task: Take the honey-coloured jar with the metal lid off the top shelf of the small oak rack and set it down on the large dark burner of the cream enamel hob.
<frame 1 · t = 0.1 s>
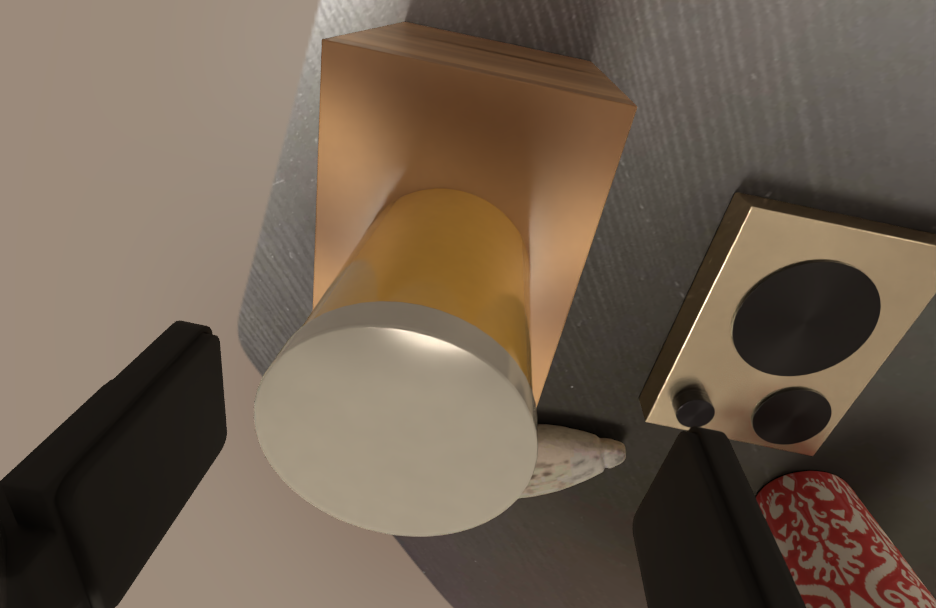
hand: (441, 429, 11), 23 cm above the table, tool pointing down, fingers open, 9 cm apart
hob: (770, 325, 34), on the table
shelf: (473, 171, 31), on the table
jar: (444, 270, 20), point 13 cm above the table, touching shelf
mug: (806, 511, 43), on the table
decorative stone: (522, 444, 42), on the table
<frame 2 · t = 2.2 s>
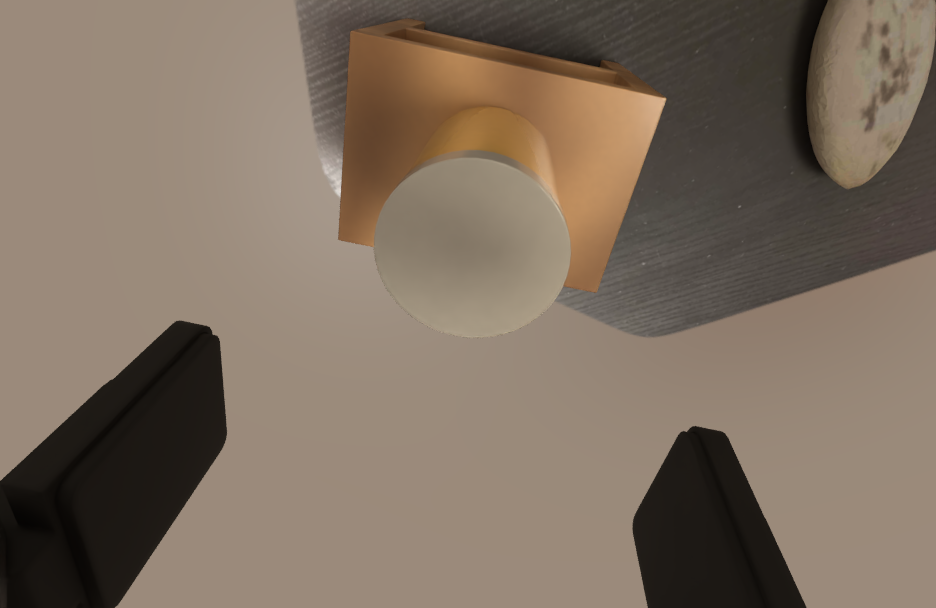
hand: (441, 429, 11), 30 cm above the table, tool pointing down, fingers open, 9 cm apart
shelf: (497, 119, 36), on the table
jar: (486, 176, 25), point 13 cm above the table, touching shelf
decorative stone: (853, 58, 33), on the table
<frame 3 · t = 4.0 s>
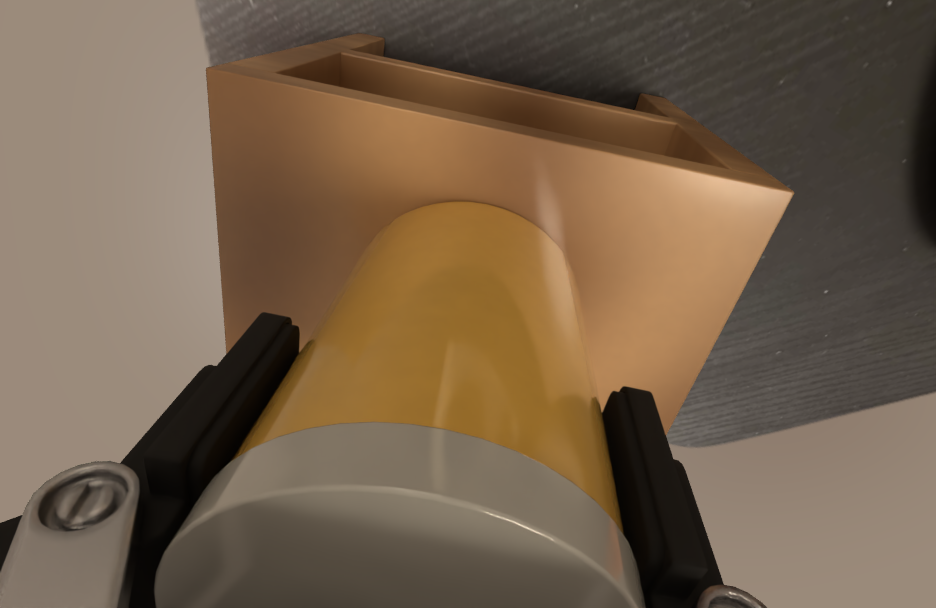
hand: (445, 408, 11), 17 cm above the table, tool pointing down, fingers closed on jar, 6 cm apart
shelf: (490, 174, 26), on the table
jar: (464, 309, 15), point 13 cm above the table, touching gripper, shelf
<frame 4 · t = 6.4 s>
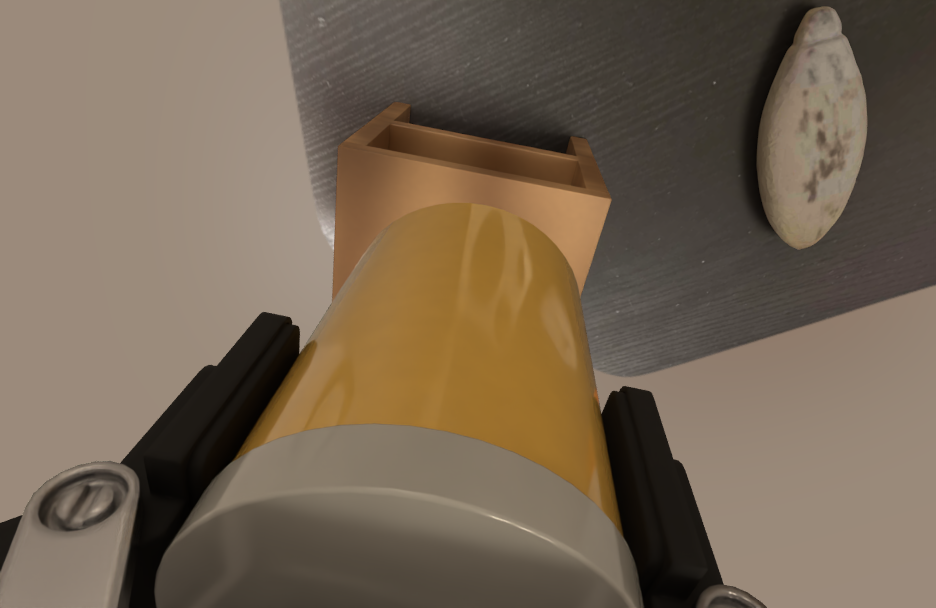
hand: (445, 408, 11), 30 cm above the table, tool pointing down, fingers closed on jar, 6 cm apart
shelf: (478, 187, 40), on the table
jar: (464, 310, 15), point 26 cm above the table, touching gripper
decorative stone: (798, 133, 36), on the table
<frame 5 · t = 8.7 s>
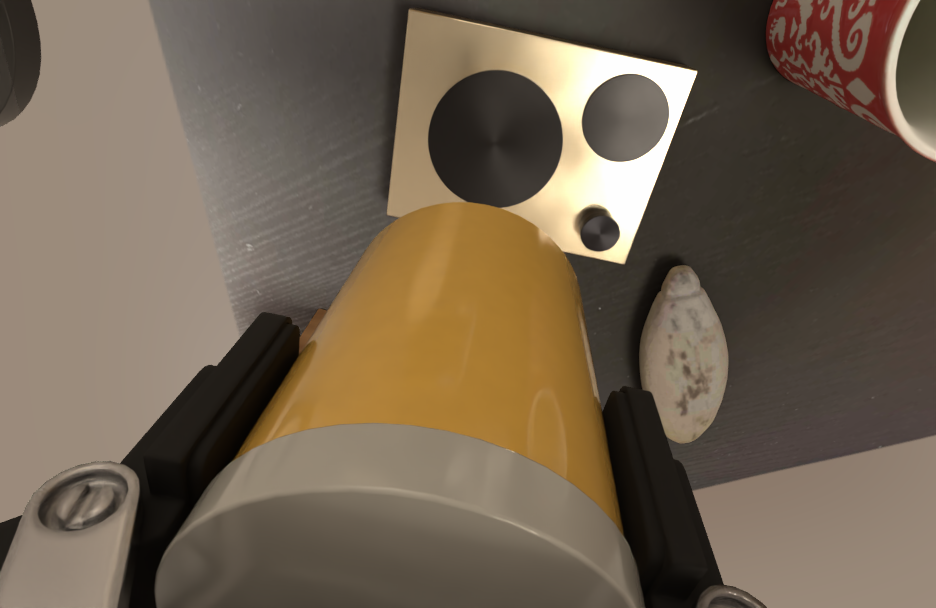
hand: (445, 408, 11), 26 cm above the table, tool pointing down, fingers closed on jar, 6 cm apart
hob: (527, 140, 33), on the table
shelf: (398, 374, 44), on the table
jar: (465, 310, 15), point 22 cm above the table, touching gripper
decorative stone: (677, 347, 40), on the table
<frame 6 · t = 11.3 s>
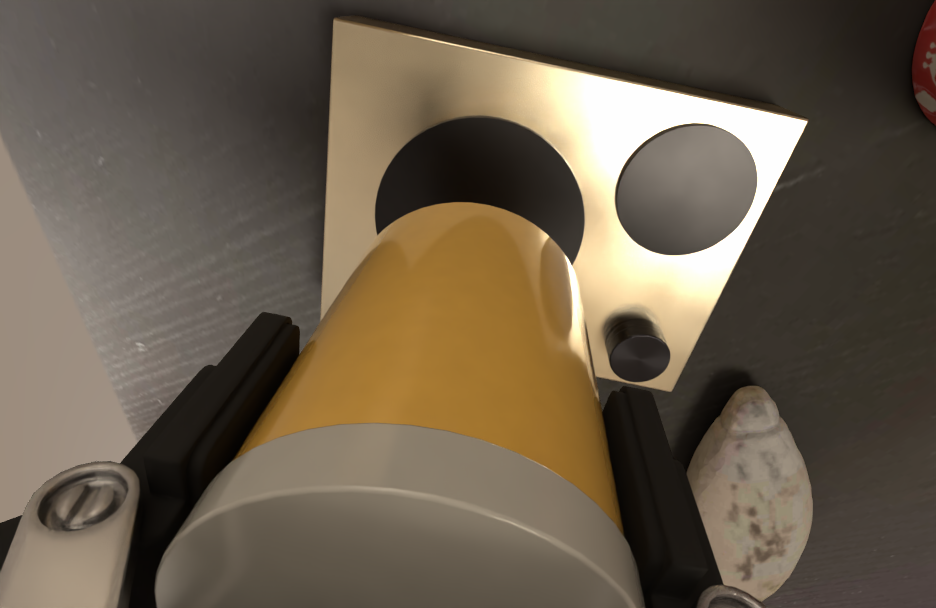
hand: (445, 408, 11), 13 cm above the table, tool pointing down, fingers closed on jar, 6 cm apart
hob: (528, 212, 22), on the table
jar: (465, 310, 15), point 9 cm above the table, touching gripper
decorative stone: (734, 480, 29), on the table
when the fingers open (7 cm above the table, at t = 13.3 s): jar stays where it is, resting on hob.
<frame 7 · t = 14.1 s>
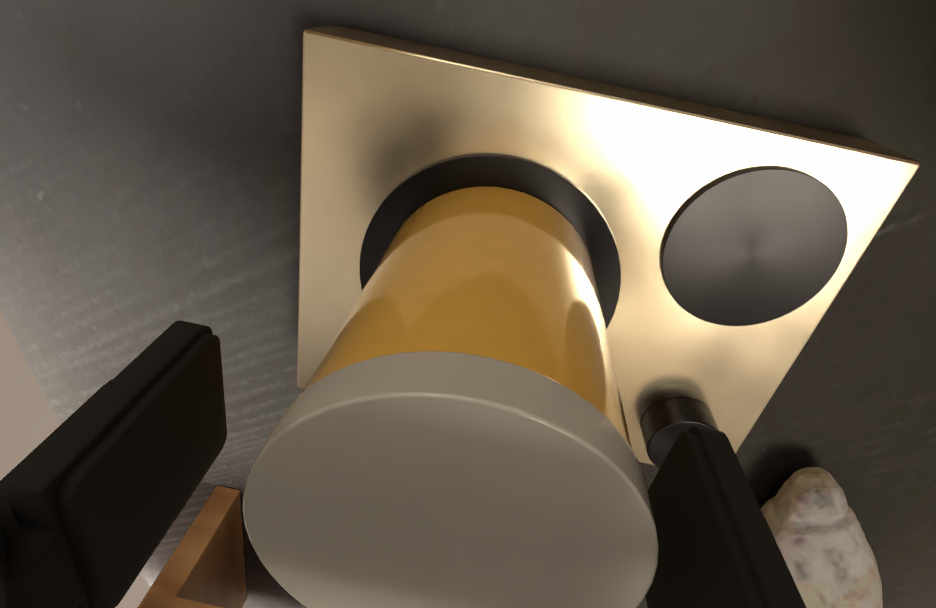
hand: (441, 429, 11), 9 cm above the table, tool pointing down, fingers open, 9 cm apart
hob: (548, 262, 18), on the table
shelf: (345, 570, 29), on the table
jar: (487, 287, 16), point 3 cm above the table, touching hob
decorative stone: (782, 563, 25), on the table
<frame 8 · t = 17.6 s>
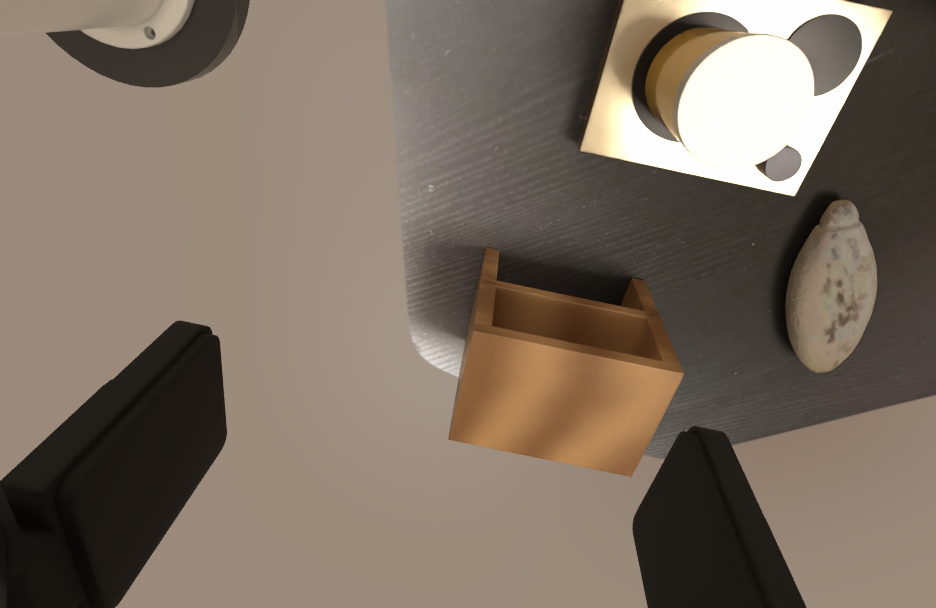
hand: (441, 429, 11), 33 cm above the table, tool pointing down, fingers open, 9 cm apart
hob: (711, 81, 37), on the table
shelf: (550, 312, 48), on the table
jar: (695, 81, 34), point 3 cm above the table, touching hob
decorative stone: (820, 282, 44), on the table
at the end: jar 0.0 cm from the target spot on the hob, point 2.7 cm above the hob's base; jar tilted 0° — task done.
